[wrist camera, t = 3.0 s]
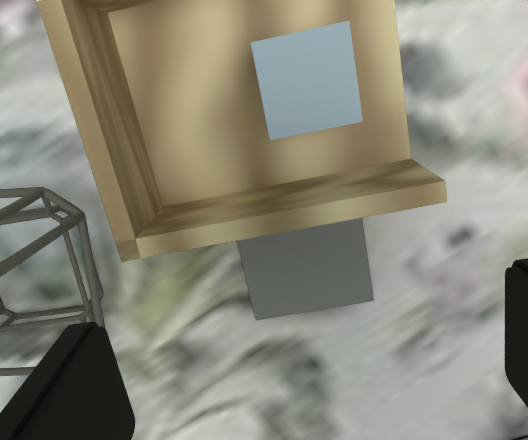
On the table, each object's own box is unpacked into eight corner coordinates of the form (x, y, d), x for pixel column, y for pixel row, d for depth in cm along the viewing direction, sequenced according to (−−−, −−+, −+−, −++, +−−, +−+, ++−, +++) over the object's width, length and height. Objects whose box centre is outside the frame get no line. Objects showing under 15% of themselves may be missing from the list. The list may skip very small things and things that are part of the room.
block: (334, 31, 28) (349, 20, 22) (346, 112, 29) (362, 121, 24) (255, 48, 28) (250, 42, 23) (271, 127, 30) (270, 140, 24)
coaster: (355, 183, 31) (357, 185, 31) (372, 296, 34) (373, 300, 34) (230, 207, 32) (229, 209, 32) (256, 316, 35) (255, 320, 34)
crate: (384, -74, 27) (420, -123, 20) (410, 174, 31) (446, 201, 24) (86, -3, 28) (27, -26, 22) (153, 223, 33) (121, 261, 26)
